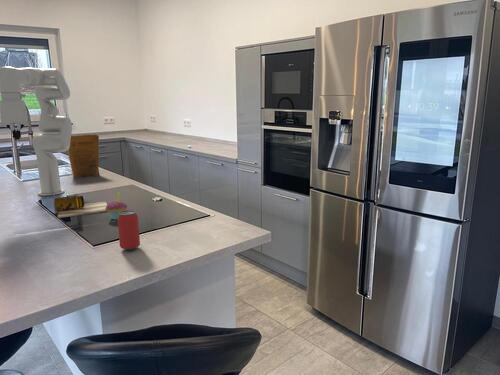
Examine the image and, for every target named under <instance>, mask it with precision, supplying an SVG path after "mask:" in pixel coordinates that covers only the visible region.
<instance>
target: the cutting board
mask: <svg viewBox="0 0 500 375" xmlns="http://www.w3.org/2000/svg"><path fill="white" fill-rule="evenodd" d="M107 205H108V204H107V202H106V201H99V202H90V203H84V207H80V208H77V209H71V210H64V211H57V218H58V219H60V218H69V217H70V218H71V217H76V216H77V217H78V216H85V215H91V214H92V215H93V214H99V213H100V214H101V213H108V212H107V211H106V206H107Z"/></svg>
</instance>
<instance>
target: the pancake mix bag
mask: <svg viewBox="0 0 500 375" xmlns="http://www.w3.org/2000/svg"><path fill="white" fill-rule="evenodd" d="M99 145H100V136H99V134H98V135H97V134H85V135H71V142H70V148H69V150H68V151H67V155H68V159H69V163H70V169H71V172H72V177H73V178H76V177H78V178H91V177H92V176H93V177H97V176H98V175H99V176H100V175H101V174H100V170H99V166H100V165H99V164H100V163H99V156H100V146H99ZM93 177H92V178H93Z"/></svg>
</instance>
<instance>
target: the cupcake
mask: <svg viewBox="0 0 500 375" xmlns="http://www.w3.org/2000/svg"><path fill="white" fill-rule="evenodd" d="M116 199H117V200H116V201H112V202H109V203H108V204H107V206H106V211H107V212H106V213H109V216H110V218H111V219H112V220H117V221H118V216H119V213H120V212H122V211H126V210H127V209H128V205H127V204H126V203H125V202H123V201H121V200H120V191H118V192H117V198H116Z"/></svg>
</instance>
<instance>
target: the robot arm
mask: <svg viewBox="0 0 500 375" xmlns="http://www.w3.org/2000/svg"><path fill="white" fill-rule="evenodd" d="M21 87H34V94H35V96H36V100H37V103H38V105H39V106H40V115H39V121H38V130H39V132H40V133H39V134H36V135H34V136H33V138H32V141H31V143H32V146H33V149H34V152H35V153H34V154H35V157H36V163H37V169H38V170H37V172H38V176H39V177H38V179H39V187H40V190H39V191H38V192H37V195H39V196H41V197H42V196H45V197H46V196H53V194H54V196H56V195H61V194H63V193H65V189H63V188H62V187H61V179H60V171H59V162H58V158H57V156H55V154H53V153H63V152H68V150H69V148H70V142H71V136H72V132H73V131H72V130H73V123H72V120H71V119H70V118H69V117H68V116H65V115H59V108H58V107H57V105H55V104H54V103H53V102H52V101H65V100H68V99H70V96H71V91H70V90H71V89H70V88H69V85H68V83H67V81H66V79H65V78H64V76H63V74H62V73H61V71H59V69H57V68H54V67H53V68H50V67H49V68H45V67H43V68H41V67H39V68H38V67H18V68H17V67H12V66H0V98H1V99H0V121H1V122H0V126H1V127H4V128H8V129H9V130H10V131H11V134H12V138H13V139H14V140H15V141H17V140H19V141H20V138H21V139H22V134H21V130H22V129H23V128H24V127H27V126H30V122H29V117H28V111H27V110H28V109H27V105H26V103H25V100H23V98H26V94H24V93H22V91H21ZM14 124H17V126H16V128H15V126H14Z"/></svg>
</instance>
